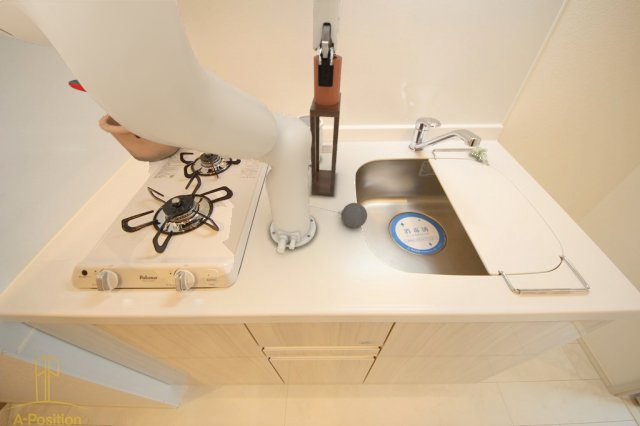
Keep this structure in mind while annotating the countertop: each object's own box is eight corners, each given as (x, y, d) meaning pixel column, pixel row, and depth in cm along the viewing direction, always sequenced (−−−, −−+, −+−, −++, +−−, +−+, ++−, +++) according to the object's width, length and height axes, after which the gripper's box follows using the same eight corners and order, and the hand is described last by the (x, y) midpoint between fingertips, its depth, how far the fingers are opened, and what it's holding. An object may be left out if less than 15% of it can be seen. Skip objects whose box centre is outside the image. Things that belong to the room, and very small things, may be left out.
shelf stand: (333, 196, 70) (339, 111, 50) (312, 195, 70) (309, 109, 50) (335, 174, 78) (341, 92, 58) (316, 172, 78) (315, 91, 58)
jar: (292, 155, 86) (288, 117, 75) (315, 149, 89) (315, 112, 78) (302, 169, 79) (299, 130, 68) (327, 163, 82) (328, 124, 71)
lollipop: (292, 227, 59) (301, 236, 65) (367, 220, 54) (368, 231, 60) (295, 197, 63) (303, 208, 69) (364, 188, 58) (366, 201, 64)
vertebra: (484, 157, 79) (494, 149, 78) (468, 147, 83) (477, 140, 83) (483, 166, 84) (492, 159, 83) (468, 156, 88) (476, 150, 88)
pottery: (129, 173, 77) (98, 135, 66) (123, 147, 89) (97, 111, 79) (192, 153, 86) (174, 117, 75) (179, 132, 98) (162, 98, 87)
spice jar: (338, 106, 52) (341, 61, 45) (312, 104, 52) (312, 60, 46) (339, 96, 56) (342, 54, 49) (315, 95, 56) (315, 53, 50)
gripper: (314, -30, 44) (315, 68, 57) (301, -34, 32) (306, 91, 45) (351, -30, 44) (343, 69, 56) (351, -33, 32) (342, 93, 44)
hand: (327, 79), depth 51 cm, fingers open, 9 cm apart
